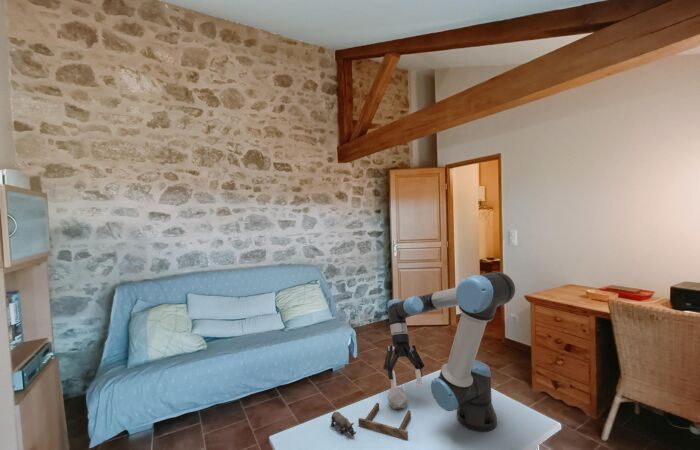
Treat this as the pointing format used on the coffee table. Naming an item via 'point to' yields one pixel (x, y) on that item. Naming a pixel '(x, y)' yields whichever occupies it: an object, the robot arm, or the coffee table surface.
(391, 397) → the die
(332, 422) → the rhino figurine
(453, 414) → the coffee table surface
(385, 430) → the frame
